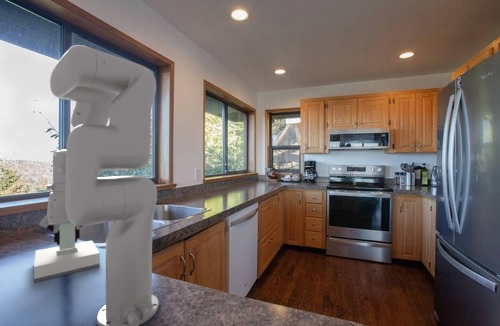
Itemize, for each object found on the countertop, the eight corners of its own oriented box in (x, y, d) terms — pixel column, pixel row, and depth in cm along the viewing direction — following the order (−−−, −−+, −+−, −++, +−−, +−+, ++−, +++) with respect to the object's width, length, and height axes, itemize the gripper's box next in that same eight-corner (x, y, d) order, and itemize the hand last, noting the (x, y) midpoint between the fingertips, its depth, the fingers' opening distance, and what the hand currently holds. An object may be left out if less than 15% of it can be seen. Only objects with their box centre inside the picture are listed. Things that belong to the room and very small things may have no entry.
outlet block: (99, 266, 78) (99, 252, 78) (34, 282, 68) (34, 266, 68) (92, 252, 90) (92, 240, 90) (35, 263, 80) (35, 250, 80)
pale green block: (75, 247, 79) (75, 217, 79) (59, 250, 76) (59, 219, 76) (73, 244, 82) (74, 215, 82) (59, 246, 79) (59, 216, 79)
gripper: (33, 190, 70) (32, 251, 71) (98, 187, 81) (98, 240, 82) (33, 188, 76) (33, 244, 76) (95, 185, 87) (94, 234, 87)
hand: (67, 241), depth 79 cm, fingers closed on pale green block, 4 cm apart
